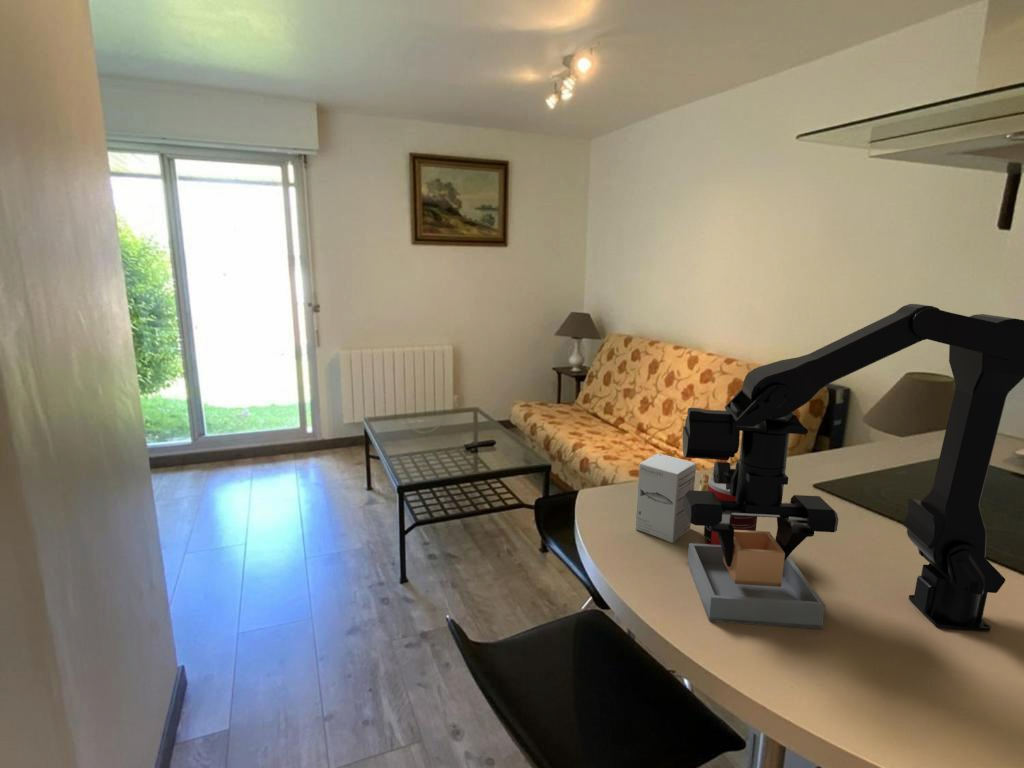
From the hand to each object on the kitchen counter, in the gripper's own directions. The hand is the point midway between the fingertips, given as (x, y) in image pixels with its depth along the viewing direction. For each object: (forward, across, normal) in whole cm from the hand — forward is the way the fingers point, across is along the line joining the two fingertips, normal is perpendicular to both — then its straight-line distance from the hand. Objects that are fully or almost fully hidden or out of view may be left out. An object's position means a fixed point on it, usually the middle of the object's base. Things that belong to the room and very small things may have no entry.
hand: (751, 566), depth 76 cm
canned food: (+4, -1, -14) cm, 15 cm away
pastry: (+5, -5, -35) cm, 36 cm away
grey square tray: (+4, 0, 0) cm, 4 cm away
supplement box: (+4, +9, -18) cm, 21 cm away
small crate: (+1, 0, 0) cm, 1 cm away
